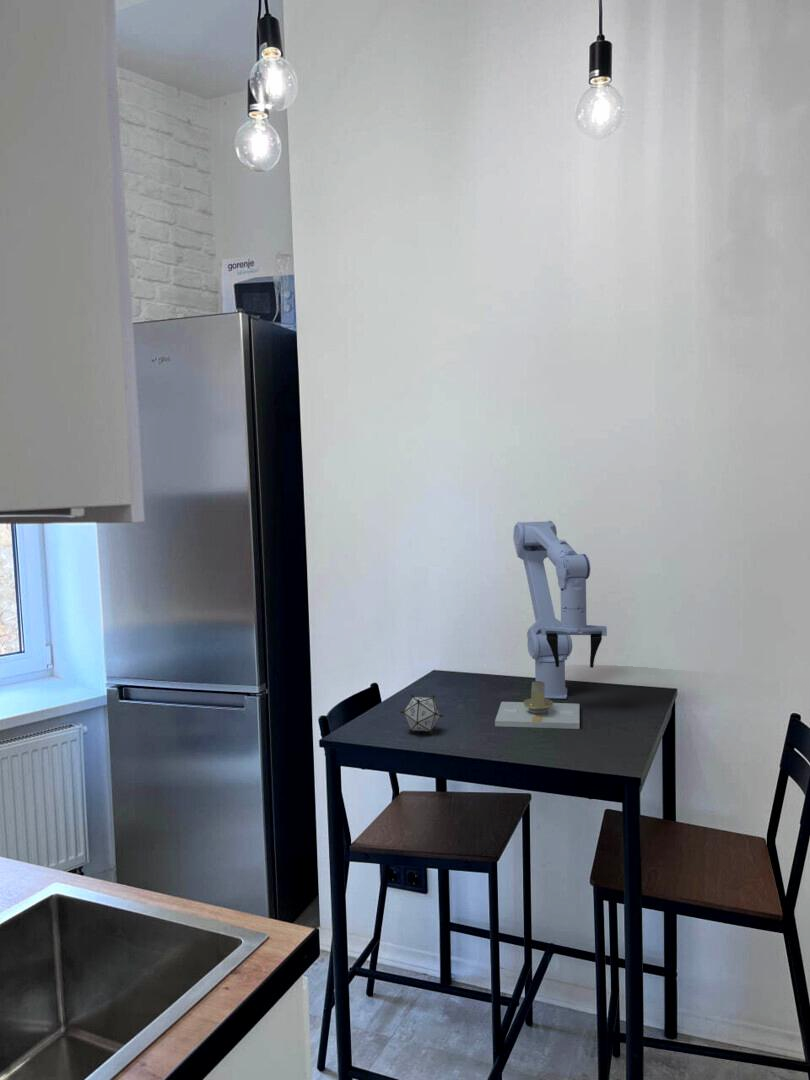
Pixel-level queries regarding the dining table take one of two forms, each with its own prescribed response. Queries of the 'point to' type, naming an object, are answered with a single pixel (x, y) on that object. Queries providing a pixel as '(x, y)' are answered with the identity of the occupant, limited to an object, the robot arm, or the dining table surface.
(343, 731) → the dining table surface
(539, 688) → the door handle
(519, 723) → the lock plate
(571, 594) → the robot arm
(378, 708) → the dining table surface
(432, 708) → the game die
